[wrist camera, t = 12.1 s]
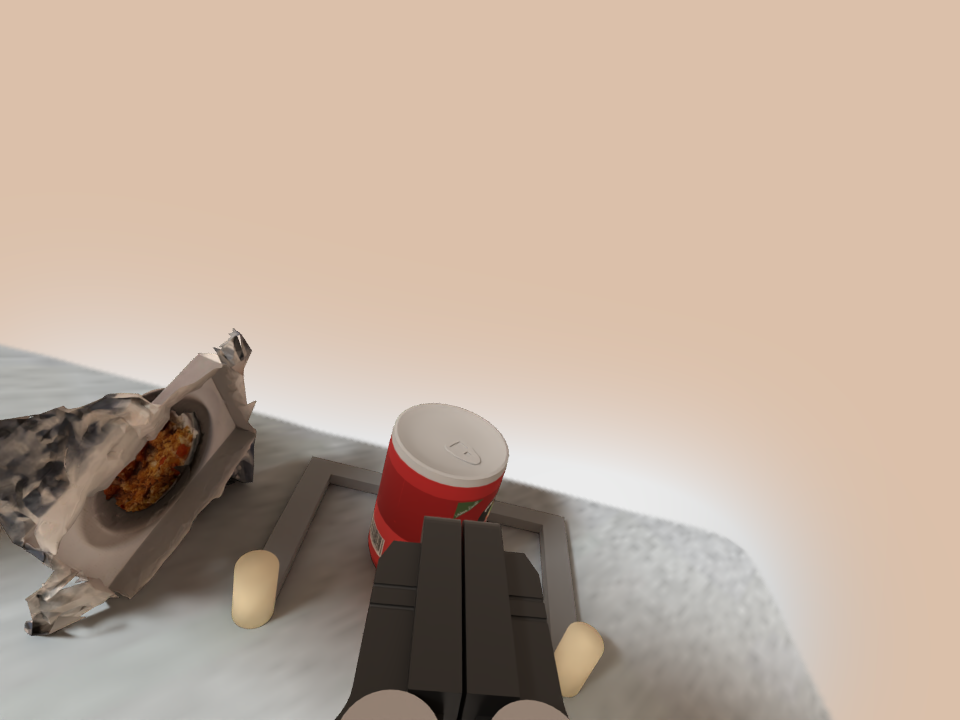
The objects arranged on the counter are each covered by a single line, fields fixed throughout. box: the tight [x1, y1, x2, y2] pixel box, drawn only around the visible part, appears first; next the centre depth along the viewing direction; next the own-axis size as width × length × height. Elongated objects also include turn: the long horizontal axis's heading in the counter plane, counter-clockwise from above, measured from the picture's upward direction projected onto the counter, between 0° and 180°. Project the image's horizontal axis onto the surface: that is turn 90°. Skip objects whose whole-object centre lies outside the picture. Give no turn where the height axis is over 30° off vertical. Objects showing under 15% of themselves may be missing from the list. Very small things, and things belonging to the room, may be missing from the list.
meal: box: [0, 328, 256, 636], centre depth 31 cm, size 15×4×13 cm, turn 164°
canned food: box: [368, 403, 509, 569], centre depth 37 cm, size 8×8×11 cm
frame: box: [232, 457, 604, 697], centre depth 37 cm, size 22×15×4 cm, turn 87°
